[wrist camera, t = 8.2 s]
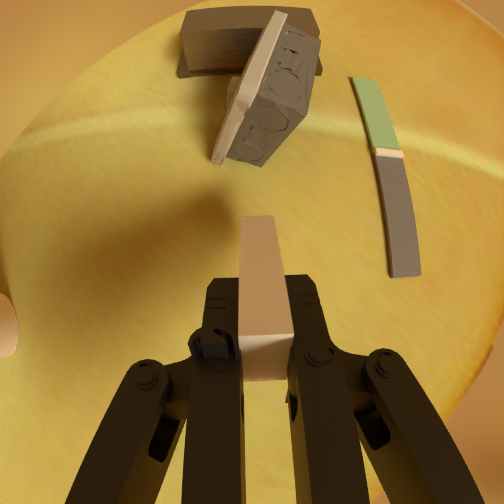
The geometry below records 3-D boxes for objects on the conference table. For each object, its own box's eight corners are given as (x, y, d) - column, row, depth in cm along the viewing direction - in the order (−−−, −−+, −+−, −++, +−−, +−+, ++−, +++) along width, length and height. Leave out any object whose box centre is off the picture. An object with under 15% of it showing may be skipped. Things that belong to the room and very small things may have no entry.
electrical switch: (241, 82, 19) (251, 2, 11) (297, 97, 19) (327, 21, 11) (209, 167, 18) (201, 86, 10) (275, 185, 18) (311, 113, 10)
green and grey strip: (390, 278, 16) (395, 277, 16) (351, 79, 19) (353, 74, 18) (418, 275, 16) (423, 274, 16) (375, 83, 19) (377, 78, 18)
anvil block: (179, 78, 19) (166, 36, 14) (186, 46, 20) (176, 8, 15) (320, 75, 19) (333, 33, 14) (311, 44, 20) (320, 5, 15)
